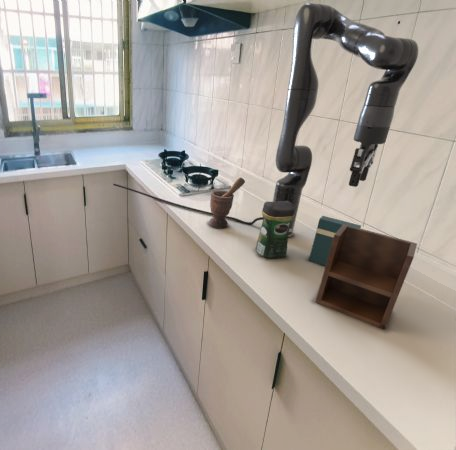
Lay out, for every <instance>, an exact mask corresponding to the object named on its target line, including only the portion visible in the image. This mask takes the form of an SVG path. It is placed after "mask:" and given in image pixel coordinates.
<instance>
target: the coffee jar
mask: <svg viewBox="0 0 456 450" xmlns="http://www.w3.org/2000/svg"><path fill="white" fill-rule="evenodd" d="M294 210H295V207H294V205H293V204H292V203H290V202H289V201H276V202H273V201H265V202H264V203H263V207H262V210H261V215H262V217H263V220H262V222H261V227H260V230H259V234H258V238H257V241H256V244H255V251H256V253H257V254H258V255H259V256H261V257H262V258H265V259H277V258H278V259H279V258H284V257H286V256H287V254H288V253H287V252H288V243H289V237H288V234H289V227H290V223H291V221H292V219H293V217H294Z"/></svg>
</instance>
